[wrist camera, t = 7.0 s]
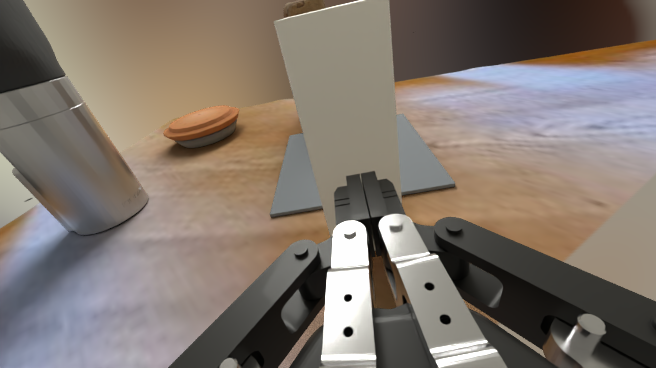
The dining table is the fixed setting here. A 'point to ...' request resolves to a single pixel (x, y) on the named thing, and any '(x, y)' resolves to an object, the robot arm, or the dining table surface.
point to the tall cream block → (344, 93)
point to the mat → (300, 183)
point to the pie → (203, 126)
